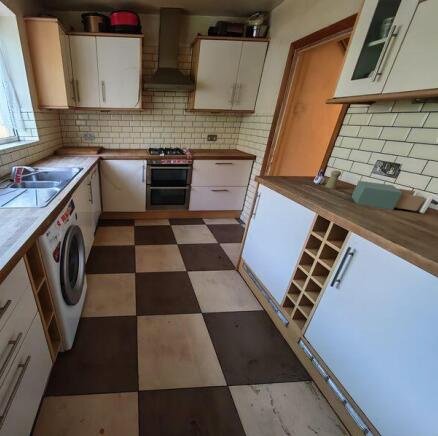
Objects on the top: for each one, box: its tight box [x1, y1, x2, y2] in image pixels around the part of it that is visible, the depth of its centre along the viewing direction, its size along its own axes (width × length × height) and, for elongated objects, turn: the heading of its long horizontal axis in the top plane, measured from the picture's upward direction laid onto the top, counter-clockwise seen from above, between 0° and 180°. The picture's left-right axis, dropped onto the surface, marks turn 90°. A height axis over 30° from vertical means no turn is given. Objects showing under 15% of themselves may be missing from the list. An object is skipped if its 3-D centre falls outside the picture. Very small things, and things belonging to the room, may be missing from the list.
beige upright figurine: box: [324, 169, 342, 190], centre depth 148 cm, size 6×6×11 cm
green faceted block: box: [351, 180, 402, 211], centre depth 123 cm, size 15×15×10 cm
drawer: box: [394, 187, 438, 214], centre depth 117 cm, size 18×13×8 cm
